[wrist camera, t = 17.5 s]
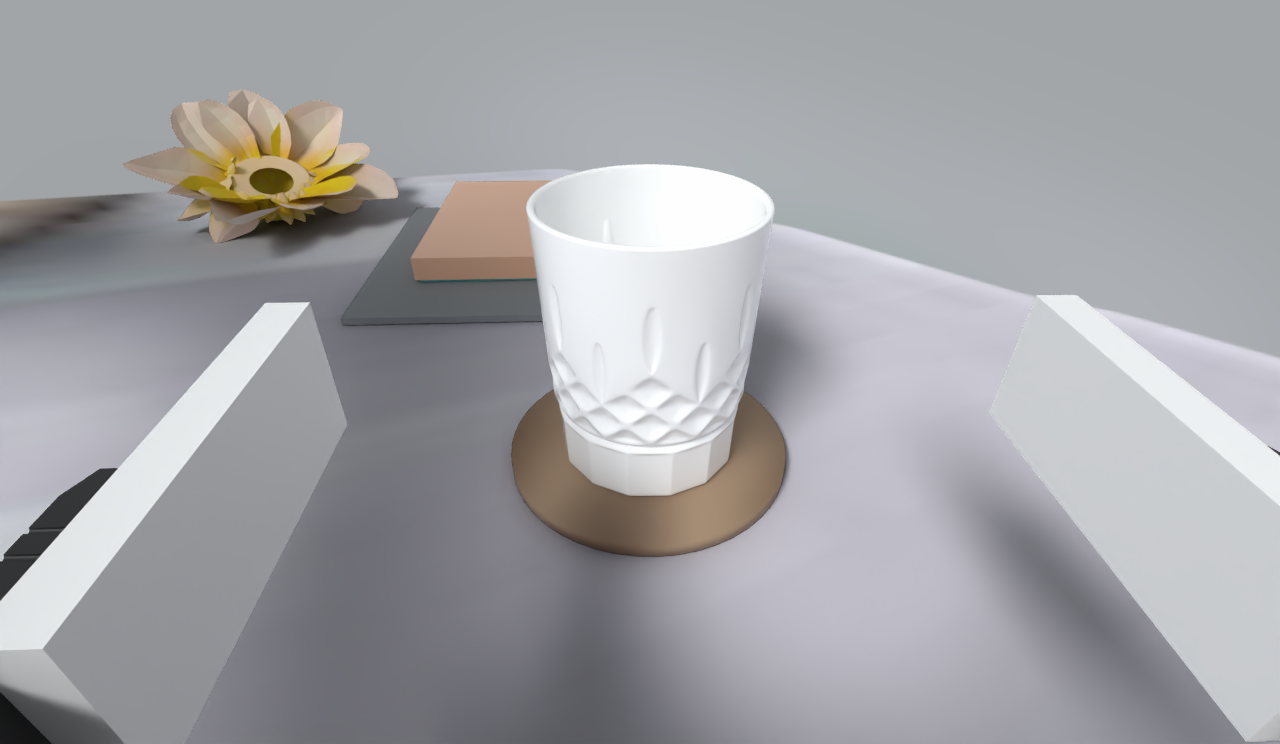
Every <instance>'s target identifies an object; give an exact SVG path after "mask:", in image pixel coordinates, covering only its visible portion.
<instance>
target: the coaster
mask: <svg viewBox="0 0 1280 744" xmlns="http://www.w3.org/2000/svg"><path fill="white" fill-rule="evenodd" d="M511 457H512V465H513V472H514V479H515V482H516V485H517V488H518V491H519V493H520V494H521V496H522V498H523V500H524V502H525V503H526V504H527V506H528V507H529V508H530V509H531V511H532V512H533V513H534V514H535V515H536V516H537V517H538V518H539V519H540V520H541V521H543V522H544V523H545V524H546V525H547V526H549V527H550V528H552V529H553V530H555V531H556V532H558V533H559V534H561V535H563V536H565V537H567V538H569V539H571V540H573V541H575V542H577V543H580V544H582V545H585V546H588V547H591V548H594V549H597V550H601V551H606V552H610V553H614V554H622V555H630V556H648V557H659V556H670V555H680V554H685V553H690V552H695V551H699V550H702V549H706V548H709V547H712V546H715V545H718V544H720V543H722V542H724V541H727V540H729V539H731V538H733V537H735V536H737V535H738V534H740V533H741V532H743V531H745V530H746V529H748V528H749V527H750V526H752V525H753V524H754V523H755V522H756V521H758V520H759V519H760V518H761V517H762V516H763V515H764V513H765V512H766V511H767V510H768V509H769V508H770V506H771V505H772V503H773V501H774V500H775V498H776V497H777V495H778V492H779V489H780V487H781V484H782V479H783V473H784V467H785V461H786V454H785V445H784V441H783V436H782V434H781V432H780V430H779V427H778V425H777V424H776V422H775V421H774V419H773V418H772V416H771V415H770V414H769V412H768V411H767V410H766V409H765V408H764V407H763V406H762V405H761V404H760V403H759V402H758V401H756V400H755V399H754V398H753V397H752V396H750V395H749V394H747V393H746V392H744V391H743V395H742V397H741V399H740V401H739V403H738V408H737V413H736V416H735V421H734V427H733V434H732V440H731V446H730V452H729V458H728V461H727V462H726V463H725V464H724V465H723V466H722V467H721V468H720V469H719V470H718V471H717V472H716V473H715V474H714V475H713V476H712V477H711V478H710V479H709V480H708V481H707V482H706V483H704V484H702V485H699V486H696V487H693V488H690V489H688V490H685V491H682V492H679V493H676V494H674V495H670V496H628V495H625V494H622V493H619V492H616V491H613V490H610V489H607V488H604V487H601V486H598V485H596V484H593V483H592V482H591V481H590V480H589V479H588V478H587V477H585V476H584V475H583V474H582V473H581V472H580V471H579V470H578V469H577V468H576V467H575V466H574V465H573V464H572V463H571V462H570V461H569V456H568V452H567V447H566V443H565V438H564V433H563V425H562V417H561V410H560V406H559V402H558V400H557V398H556V396H555V393H554V389H553V390H552V391H550V392H549V393H547V394H546V395H545V396H543V397H542V398H541V399H540V400H538V401H537V402H536V403H535V404H534V405H533V406H532V407H531V408H530V409H529V410H528V411H527V413H526V414H525V416H524V417H523V418H522V420H521V421H520V423H519V425H518V428H517V430H516V432H515V435H514V439H513V442H512V452H511Z"/></svg>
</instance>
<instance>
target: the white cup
mask: <svg viewBox="0 0 1280 744" xmlns="http://www.w3.org/2000/svg"><path fill="white" fill-rule="evenodd" d="M526 212H527V218H528V224H529V231H530V238H531V244H532V251H533V257H534V264H535V271H536V278H537V285H538V292H539V299H540V305H541V312H542V319H543V326H544V333H545V340H546V346H547V353H548V359H549V365H550V368H551V372H552V376H553V386H554V393H555V396H556V398H557V400H558V402H559V406H560V410H561V417H562V425H563V433H564V438H565V443H566V447H567V452H568V456H569V461H570V462H571V463H572V464H573V465H574V466H575V467H576V468H577V469H578V470H579V471H580V472H581V473H582V474H583V475H584V476H585V477H587V478H588V479H589V480H590V481H591V482H592V483H593V484H596V485H598V486H601V487H604V488H607V489H610V490H613V491H616V492H619V493H622V494H625V495H628V496H670V495H674V494H676V493H679V492H682V491H685V490H688V489H690V488H693V487H696V486H699V485H702V484H704V483H706V482H707V481H708V480H709V479H710V478H711V477H712V476H713V475H714V474H715V473H716V472H717V471H718V470H719V469H720V468H721V467H722V466H723V465H724V464H725V463H726V462H727V461H728V458H729V452H730V446H731V440H732V434H733V427H734V421H735V416H736V413H737V408H738V403H739V401H740V399H741V397H742V395H743V391H744V382H745V378H746V374H747V370H748V366H749V362H750V355H751V349H752V343H753V337H754V331H755V325H756V319H757V313H758V307H759V302H760V296H761V290H762V284H763V277H764V271H765V265H766V259H767V253H768V247H769V241H770V236H771V230H772V224H773V218H774V212H775V207H774V203H773V200H772V199H771V198H770V196H769V195H768V194H767V193H766V192H765V191H764V190H762V189H761V188H759V187H758V186H756V185H754V184H752V183H750V182H748V181H746V180H744V179H741V178H738V177H736V176H732V175H729V174H725V173H722V172H717V171H713V170H708V169H702V168H696V167H688V166H677V165H661V164H659V165H658V164H640V165H639V164H637V165H620V166H610V167H602V168H596V169H590V170H585V171H581V172H576V173H573V174H569V175H566V176H563V177H560V178H558V179H555V180H553V181H551V182H549V183H547V184H545V185H543V186H541V187H540V188H539V189H537V190H536V191H535V192H534V193H533V194H532V195H531V196H530V198H529V199H528V201H527V205H526Z"/></svg>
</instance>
